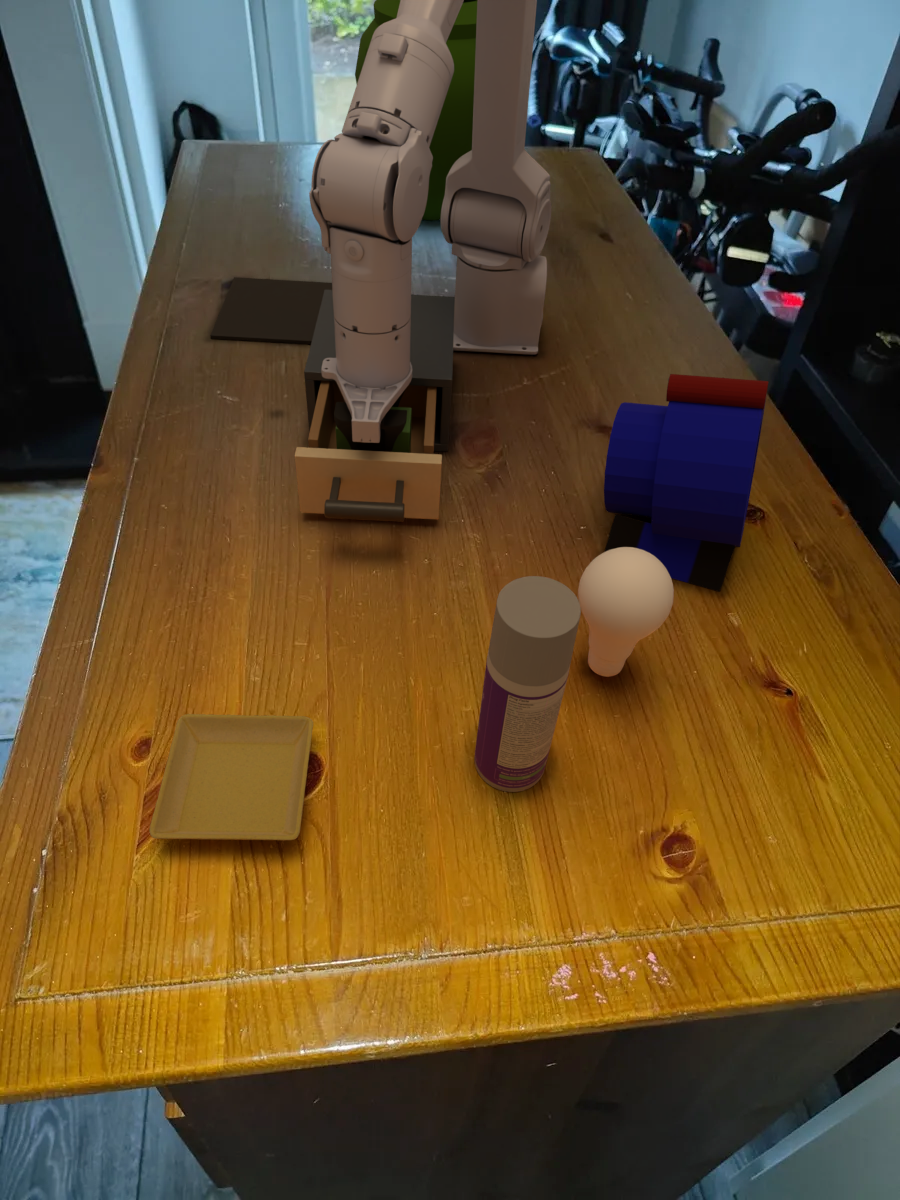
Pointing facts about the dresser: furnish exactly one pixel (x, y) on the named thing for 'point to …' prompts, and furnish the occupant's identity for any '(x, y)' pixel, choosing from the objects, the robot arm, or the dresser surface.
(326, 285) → the mat
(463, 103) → the vase
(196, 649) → the dresser surface
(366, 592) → the dresser surface
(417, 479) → the drawer
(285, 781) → the saucer
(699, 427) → the alarm clock
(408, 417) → the block
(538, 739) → the container
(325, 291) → the cabinet
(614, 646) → the lightbulb
